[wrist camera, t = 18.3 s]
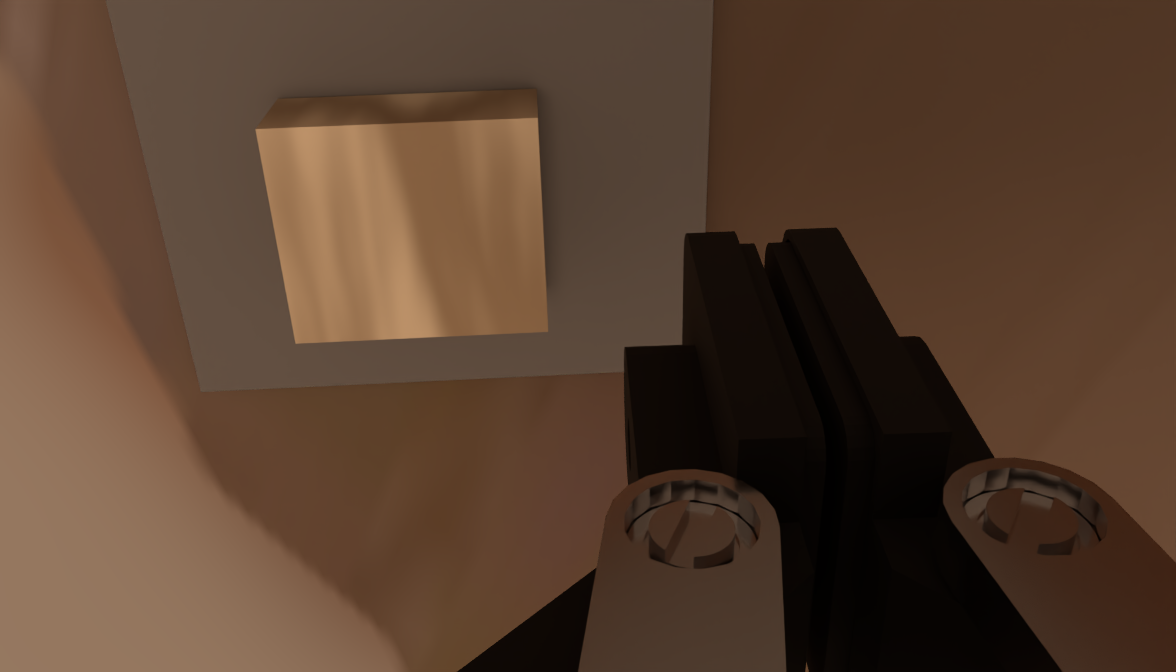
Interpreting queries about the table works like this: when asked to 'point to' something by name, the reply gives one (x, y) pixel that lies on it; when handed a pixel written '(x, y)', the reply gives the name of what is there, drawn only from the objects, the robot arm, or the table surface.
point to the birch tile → (408, 214)
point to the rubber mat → (427, 65)
